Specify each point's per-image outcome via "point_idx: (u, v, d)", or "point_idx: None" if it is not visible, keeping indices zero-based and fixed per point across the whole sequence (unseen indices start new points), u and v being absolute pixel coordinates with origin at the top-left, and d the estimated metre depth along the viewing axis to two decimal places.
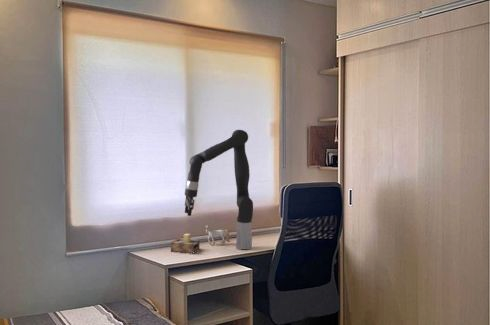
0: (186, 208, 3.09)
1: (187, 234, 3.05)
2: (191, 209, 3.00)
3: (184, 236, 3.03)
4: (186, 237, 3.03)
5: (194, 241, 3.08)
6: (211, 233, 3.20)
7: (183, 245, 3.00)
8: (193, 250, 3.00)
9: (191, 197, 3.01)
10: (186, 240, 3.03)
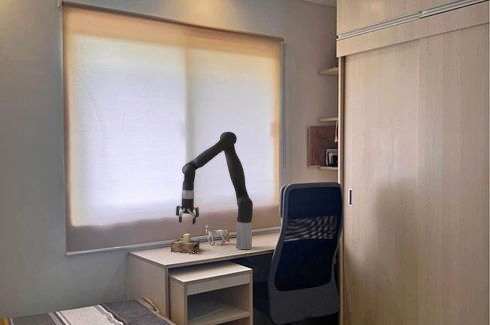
0: (181, 218, 3.05)
1: (187, 234, 3.05)
2: (196, 217, 3.03)
3: (184, 236, 3.03)
4: (186, 237, 3.03)
5: (194, 241, 3.08)
6: (211, 233, 3.20)
7: (183, 245, 3.00)
8: (193, 250, 3.00)
9: (193, 205, 3.02)
10: (186, 240, 3.03)
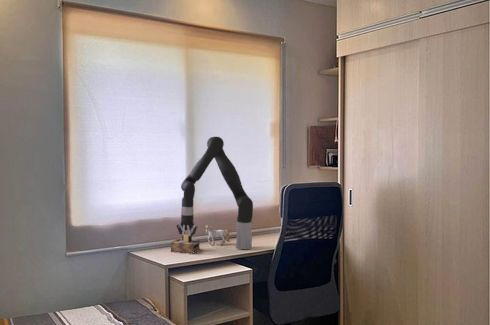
0: None
1: (187, 234, 3.05)
2: None
3: (185, 236, 3.03)
4: (186, 237, 3.03)
5: (194, 241, 3.08)
6: (211, 233, 3.20)
7: (183, 245, 3.00)
8: (193, 250, 3.00)
9: (192, 222, 3.03)
10: (186, 240, 3.03)
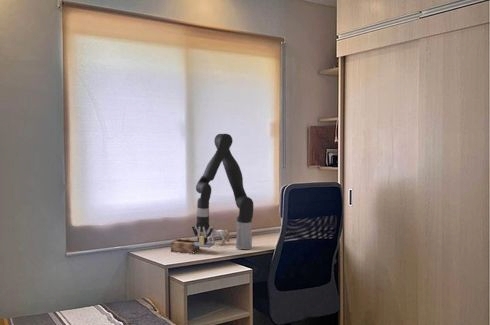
0: None
1: (203, 235, 3.02)
2: (208, 236, 3.02)
3: (200, 237, 3.01)
4: (202, 238, 3.00)
5: (210, 243, 3.06)
6: (211, 233, 3.20)
7: (183, 245, 3.00)
8: (193, 250, 3.00)
9: (208, 223, 3.01)
10: (202, 242, 3.01)
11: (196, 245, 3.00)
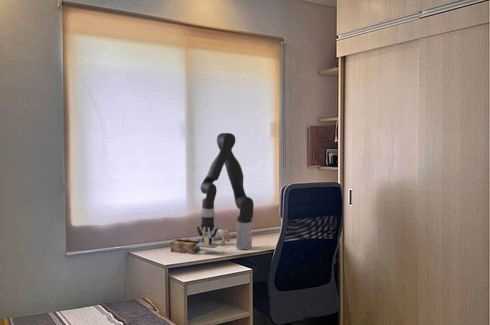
0: None
1: (207, 236, 3.01)
2: (213, 236, 3.01)
3: (205, 238, 3.00)
4: (207, 239, 3.00)
5: (214, 243, 3.05)
6: None
7: (183, 245, 3.00)
8: (193, 250, 3.00)
9: (213, 224, 3.00)
10: (207, 242, 3.00)
11: (201, 246, 2.99)
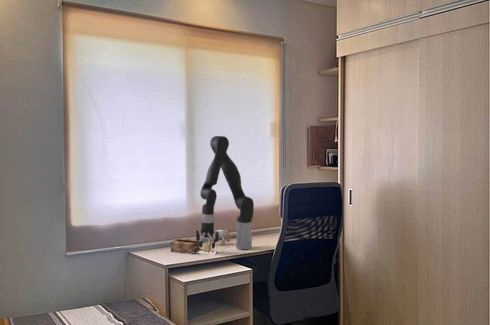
0: (201, 242, 3.02)
1: (208, 244, 3.03)
2: (216, 241, 3.01)
3: (205, 246, 3.01)
4: (207, 247, 3.01)
5: None
6: None
7: (183, 245, 3.00)
8: (193, 250, 3.00)
9: (213, 229, 3.00)
10: (207, 250, 3.01)
11: None
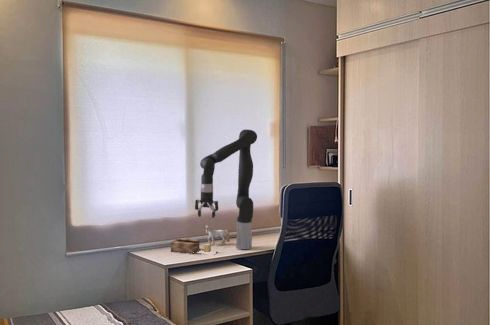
0: (200, 212, 3.04)
1: (208, 244, 3.02)
2: (216, 210, 3.02)
3: (205, 246, 3.01)
4: (207, 247, 3.01)
5: None
6: (211, 233, 3.20)
7: (183, 245, 3.00)
8: (193, 250, 3.00)
9: (212, 199, 3.01)
10: (207, 250, 3.01)
11: None
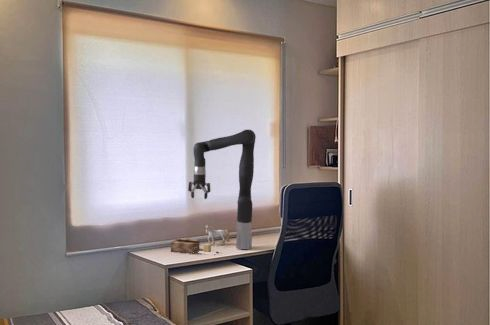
0: (193, 193, 3.20)
1: (208, 244, 3.02)
2: (208, 192, 3.18)
3: (205, 246, 3.01)
4: (206, 247, 3.01)
5: None
6: (211, 233, 3.20)
7: (183, 245, 3.00)
8: (193, 250, 3.00)
9: (204, 181, 3.17)
10: (206, 250, 3.01)
11: None
